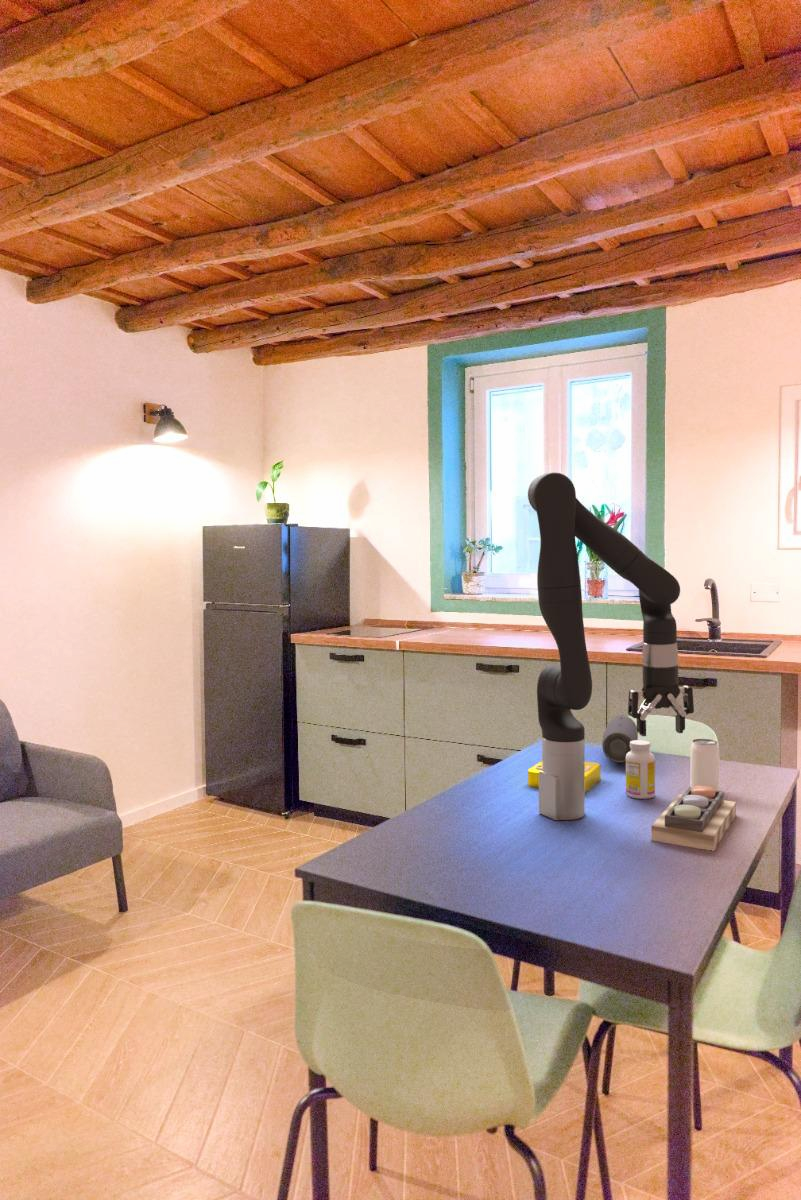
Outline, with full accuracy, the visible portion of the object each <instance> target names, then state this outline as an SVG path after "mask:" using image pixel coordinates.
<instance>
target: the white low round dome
mask: <svg viewBox="0 0 801 1200" xmlns="http://www.w3.org/2000/svg"><path fill="white" fill-rule="evenodd" d="M683 805H693V806H696V807H699V808H703V809H708V798H706V797H704V796H700V795H686V796H684V797H683Z"/></svg>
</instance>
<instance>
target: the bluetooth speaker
mask: <svg viewBox="0 0 801 1200" xmlns="http://www.w3.org/2000/svg"><path fill="white" fill-rule="evenodd" d="M605 727H606V728H605V730H604V732H603V733H602V734H603V736H602V742H601V745H602V746H601V747H602V751H603V754H604V755H605V757H606V758H607V759H609V760H610V761H612V762H614V763H626V754H627V753H628V752H630V751H631V748H630V741H633V740H639V739H638V738H639V733H638V732H637V723H636V722H635V721H634V720H633V719H632V718H631V717H629V716H627V715H616V716H614V717H613V718H612V719H610V721H609V722H608V723H607V725H606V726H605Z"/></svg>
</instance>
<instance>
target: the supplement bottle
mask: <svg viewBox="0 0 801 1200" xmlns="http://www.w3.org/2000/svg"><path fill="white" fill-rule="evenodd" d="M630 748H631V751H630V752H628V753H627V754H626V761H625V792H626V793H625V794H626V795H627V796H628V797H630V798H633V799H638V800H639V799H640V800H642V799H643V800H649V799H652V798H654V797H655V794H656V762H655V761H656V757H655V755H654V754H653V753H652V752H651V750H650V749H651V742H650V741H648V740H643V739H638V740H633V741H630Z"/></svg>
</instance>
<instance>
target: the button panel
mask: <svg viewBox="0 0 801 1200" xmlns="http://www.w3.org/2000/svg"><path fill="white" fill-rule="evenodd" d="M724 793H725V792H724V791H722V790H719V791H716V790H715V799H710V798H708V809H703V808H700V809H701V817H700V820H697V819H690V818H684V817H677V816H674V807H675V806H677V805H683V797H684V796H686V795H691V787H690V786H689V788H687V789H686V791H684V793H683V794H682V793H679V794H678V795H677V796H676V798H674V799H673V801H672V802H671V803H670V804H669V805H668V807H667V808H665V809H664V811H663V812H662V813H661V814H660V815H659V817H657V819H656V820H655V821H654V822H653V824H651V827H650V828H651V830H650V831H651V833H650V834H651V836H650V837H651V838H650V839H651V841H653V842H658V843H665V844H666V843H667V844H671V845H677V846H683V847H688V848H695V849H700V850H705V849H706V851H710V850H712V852H714V851H715V850H716V848H717V847H718V845H719V843H720V842H721V841H722V839H723V837H724V835H725V834H726V832H727V831H728V830H729V828H730V826H731V824H732V822H733V821H734V819H735V818H736V816H737V802H736V801H732V800H725V799H724V798H725V797H724V795H725V794H724Z"/></svg>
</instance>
